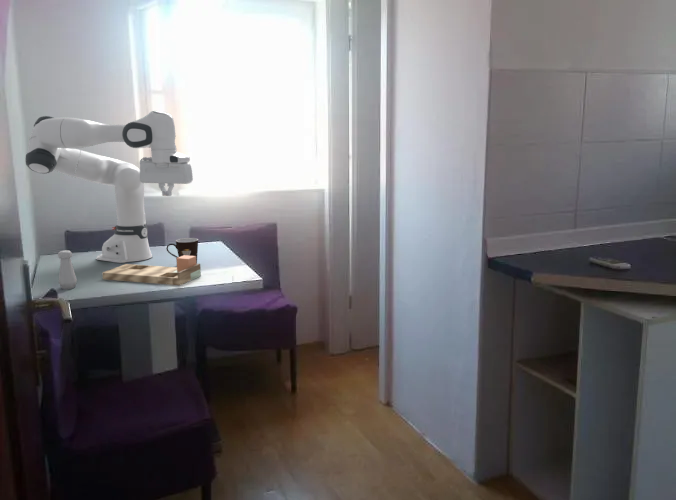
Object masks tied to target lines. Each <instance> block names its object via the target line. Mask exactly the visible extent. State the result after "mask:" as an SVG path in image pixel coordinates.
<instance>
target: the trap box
mask: <svg viewBox="0 0 676 500" xmlns="http://www.w3.org/2000/svg"><path fill="white" fill-rule="evenodd" d="M201 270H202V269H201V263H197V264H196V265H194V266H192V267H189V268H187V269H185V270H182V271H180V272H177V266H164V265H163V266H161V265H147V264H134V263H133V264H130V263H125V264H122V265H120V266H117V267H113V268H111V269H108V270H105V271H103V272H101V273H102V275H101V276H102V280H108V281H119V282H120V281H121V282H133V283H134V282H135V283H145V284H147V283H148V284H157V285H158V284H159V285H172V286H182V285H184V284H186V283H188V281H189V282H191V281H193V280H194V279H197V278H199V277H201V276H202V274H201V273H202V271H201ZM190 280H191V281H190Z"/></svg>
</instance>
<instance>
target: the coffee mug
mask: <svg viewBox="0 0 676 500" xmlns="http://www.w3.org/2000/svg"><path fill="white" fill-rule="evenodd" d="M170 246H174V247H175V249H176V250H177V255H178V256H177V255H175V254H173V253H172V252H170V251H169V247H170ZM198 249H199V238H195V237H185V238H178V239H176V240H175V243H169V244H167V245H166V249H165V250H166V252H167V253H168V254H170V255H171V256H173V257H174V258H178V257H181V256H183V255H188V256H196V264H198Z"/></svg>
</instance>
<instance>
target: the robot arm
mask: <svg viewBox="0 0 676 500" xmlns="http://www.w3.org/2000/svg"><path fill="white" fill-rule="evenodd" d="M176 136H177V135H176V126H175V121H174V118H173V116H172V114H171V113H168V112H166V111H160V110H151V111H150V112H149V113H148V114H147V115H145V116H144V117H141V118H139V119H137V120H133V121H130V122H128V123H127V124H108V123H103V122H97V121H93V120H89V119H83V118H78V117H53V116H49V115H44V116H40V117H38V118H37V119H36V120H35V122H34V124H33V129H32V131H31V132H30V137H29V140H28V146H27V152H26V155H25V165H26V167H27V168H28V169H29V170H31V171H33V172H34V173H38V174H43V175H44V174H50V173H52V172H53V171H54V172H55V171H56V172H57V173H60V174H63V175H64V176H68V177H71V178H75V179H79V180H83V181H85V182H90V183H95V184H99V185H100V184H101V185H105V186H110V187H114V194H115V210H116V211H115V212H116V221H117V222H116V225H115V226H112V227H111V230H112V231H114V234H113V235H112V236H110V237H109V238H108V239H107V240H106V241H104V242H103V244H102V247H101V254H99V255H97V256H96V260H97V261H98V260H99V261H105V262H113V263H118V264H123V263H129V262H140V261H145V260H149V259H151V258H153V254H152V251H151V248H150V244H149V240H148V225H147V222H146V211H145V184H157V185H158V188H159V189H160V191H161V195H162V196H163V197H171V196H173V193H172V192H173V189H174V187H175V185H176V184H177V185H179V184H180V185H184V184H186V185H188V184H191V183H192V182H193V179H194V178H193V168H192V166H191V164H190V163H189V162H190V160H191V159H190V156H189V155H186V154H184V153H181V152H179V151H177V150H178V149H177V145H176ZM105 143H125V144H126V145H127V146H129V147H130V148H133V149H145V148H150V154H151V156H150V157H147V156H144V157H142V158H141V159H140V160H139V167H137V166H136V165H135V164H133V163H131V162H127V161H124V160H120V159H116V158H112V157H108V156H104V155H100V154H97V153H93V152H89V151H86V150H82V149H84V148H88V147H93V146H98V145H100V144H101V145H102V144H105ZM166 184H167V187H168V189H166Z"/></svg>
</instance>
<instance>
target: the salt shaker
mask: <svg viewBox="0 0 676 500" xmlns="http://www.w3.org/2000/svg"><path fill="white" fill-rule="evenodd" d="M57 256H58V257H57V258H59V260H60V262H59V263H60V265H59V273H58V284H59V285H60V287H61V289H62V290H72V289H74V288H76V285H77V282H78V279H77V276H76V272H75V270H74V266H73V262H72V260H71V258H72V257H73V253H72V251H70V250H67V249H66V250H60V251H59V252H58V253H57Z"/></svg>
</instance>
